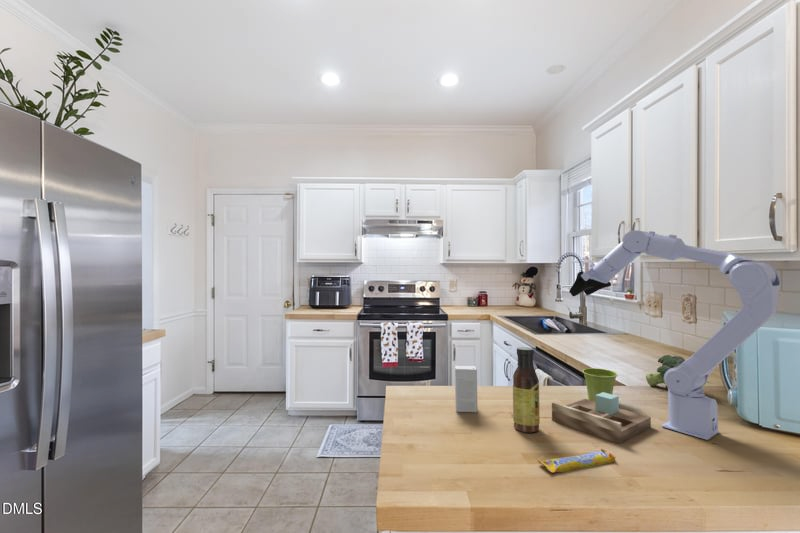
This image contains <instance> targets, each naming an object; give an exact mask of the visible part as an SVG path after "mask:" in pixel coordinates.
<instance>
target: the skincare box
mask: <svg viewBox="0 0 800 533" xmlns="http://www.w3.org/2000/svg"><path fill="white" fill-rule="evenodd" d="M476 367H477V366H475V365H454V380H455V381H454V386H455V387H454V388H455V390H454V391H455V412H456V413H478V410H479V408H478V407H479V406H478V369H477V368H476Z"/></svg>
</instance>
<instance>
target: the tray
mask: <svg viewBox="0 0 800 533" xmlns="http://www.w3.org/2000/svg"><path fill="white" fill-rule="evenodd" d="M651 418H652V417H651V416H647V415H644V414H641V413H638V412H633V411H630V410H628V409H627V410H626V409H624V408H620V407H619V412H617V413H614V414H612V415H610V414H607V413H603V412H600V411H596V410H595V401H591V400H589V399H587V398H584V399H581V400H578V401H575V402H572V403H570V404H569V403H568V404H566V405H564V404H562V403H558V402H555V401H553V402H551V421H553V422H557V423H559V424H563V425H565V426H568V427H571V428H573V429H576V430H580V431H581V432H585V433H588V434H590V435H593V436H596V437H599V438H601V439H605V440H607V441H610V442H613V443H616V444H618V443H619V444H618V445H621V443H624V442H625V441H627V440H629V439H631V438H633V437H635V436H636V435H639V434H640V433H643V432H644V431H646V430H648V429H650V428H652V424H651V423H652V422H651V421H652V419H651Z"/></svg>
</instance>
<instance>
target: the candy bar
mask: <svg viewBox="0 0 800 533" xmlns="http://www.w3.org/2000/svg"><path fill="white" fill-rule="evenodd" d="M606 453H607V450H605V449H603V448H601V449H600V451H595V452H590V453H589V452H588V453H584V454H579V455H573V456H566V457H558V458H551V459H546V460H544V461H542V460H540V459H538V460H537V462H539V463H540V464H541V465H543V466H544V467H545V469H546V470H547V471H549V472H550V473H552V474H553V473H564V472H565V473H566V472H569V471H574V470H581V469H585V468H591V467H596V466H600V465H601V466H602V465H606V464H612V463H615V462H616V461H617V460H616V457H617V456H614V455H613V454H612V453H611V452H609V453H608V454H606Z"/></svg>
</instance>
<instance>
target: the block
mask: <svg viewBox="0 0 800 533" xmlns="http://www.w3.org/2000/svg"><path fill="white" fill-rule="evenodd" d="M619 402H620V400H619V395H615V394H613V393H612V394H608V393H604V392H602V393H600V394H597V395H595V410H596V411H600V412H603V413H607V414H610V415H612V414H614V413H617V412H619V408H620V407H619V406H620V403H619Z"/></svg>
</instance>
